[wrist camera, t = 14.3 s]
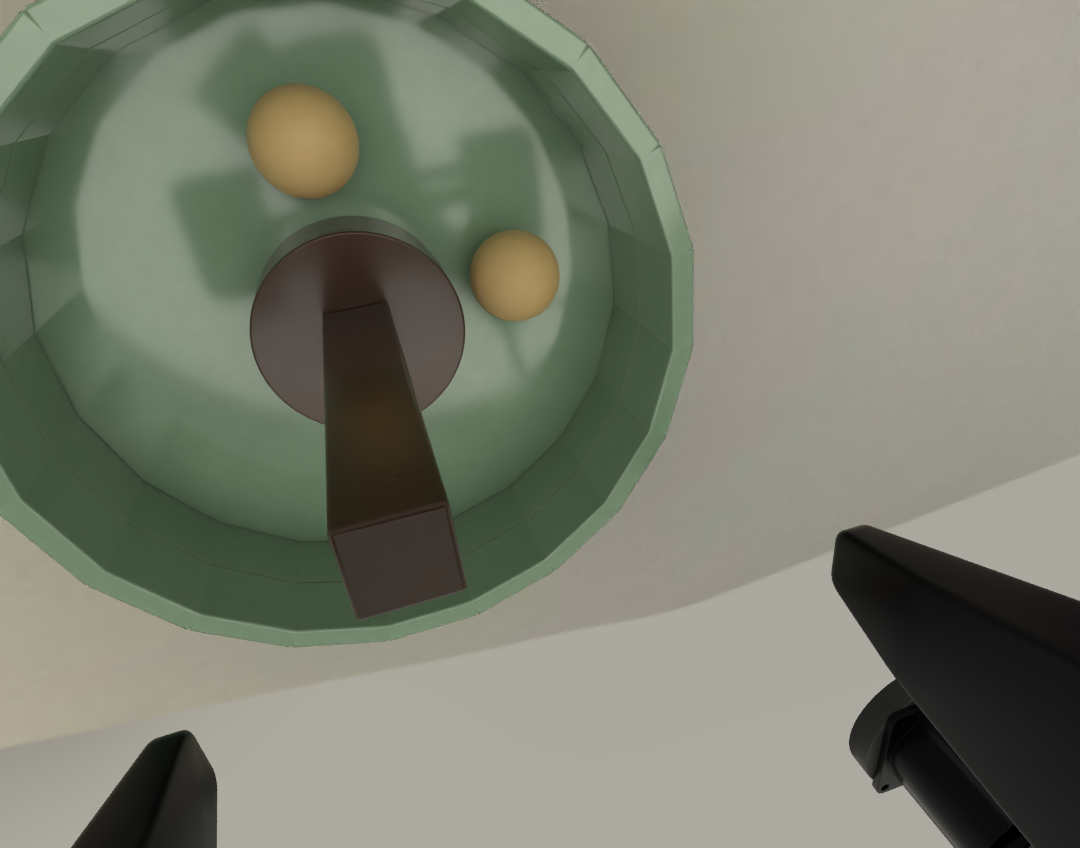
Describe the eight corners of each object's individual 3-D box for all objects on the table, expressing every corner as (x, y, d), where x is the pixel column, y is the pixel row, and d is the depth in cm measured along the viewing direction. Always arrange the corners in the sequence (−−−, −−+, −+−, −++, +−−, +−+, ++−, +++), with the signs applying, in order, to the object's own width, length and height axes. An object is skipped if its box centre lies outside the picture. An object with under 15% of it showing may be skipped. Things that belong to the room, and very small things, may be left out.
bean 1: (353, 129, 14) (338, 51, 15) (232, 147, 13) (225, 66, 14) (375, 211, 16) (361, 138, 17) (271, 228, 16) (262, 153, 16)
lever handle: (466, 377, 20) (596, 643, 11) (289, 417, 19) (263, 748, 10) (433, 199, 18) (566, 345, 8) (227, 234, 17) (112, 448, 7)
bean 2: (533, 325, 20) (567, 328, 17) (453, 313, 19) (479, 315, 16) (544, 242, 19) (580, 234, 17) (464, 226, 18) (492, 216, 16)
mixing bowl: (634, 476, 24) (692, 551, 21) (161, 603, 21) (127, 720, 17) (607, -70, 16) (696, -112, 13) (-159, 3, 13) (-352, -24, 9)
